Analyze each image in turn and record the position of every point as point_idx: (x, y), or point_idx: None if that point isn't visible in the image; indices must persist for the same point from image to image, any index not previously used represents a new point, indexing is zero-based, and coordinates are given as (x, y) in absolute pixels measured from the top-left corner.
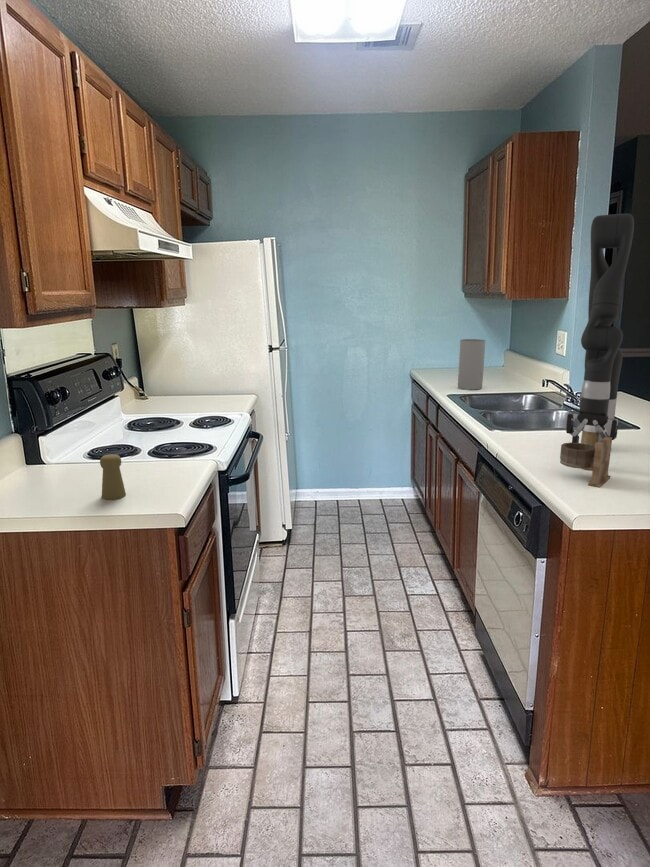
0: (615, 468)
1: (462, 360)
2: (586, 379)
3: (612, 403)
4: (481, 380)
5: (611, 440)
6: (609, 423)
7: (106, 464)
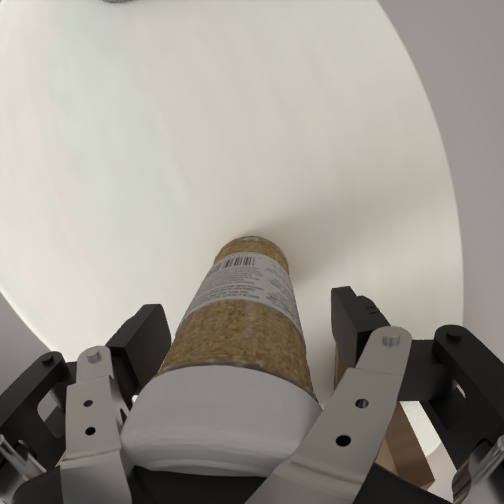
0: (353, 173)
1: None
2: None
3: None
4: None
5: (425, 472)
6: (455, 500)
7: None
